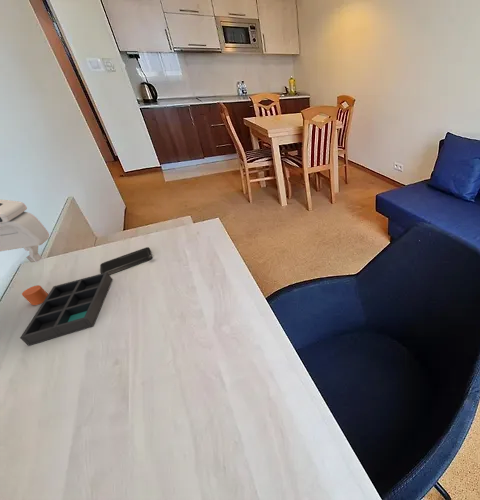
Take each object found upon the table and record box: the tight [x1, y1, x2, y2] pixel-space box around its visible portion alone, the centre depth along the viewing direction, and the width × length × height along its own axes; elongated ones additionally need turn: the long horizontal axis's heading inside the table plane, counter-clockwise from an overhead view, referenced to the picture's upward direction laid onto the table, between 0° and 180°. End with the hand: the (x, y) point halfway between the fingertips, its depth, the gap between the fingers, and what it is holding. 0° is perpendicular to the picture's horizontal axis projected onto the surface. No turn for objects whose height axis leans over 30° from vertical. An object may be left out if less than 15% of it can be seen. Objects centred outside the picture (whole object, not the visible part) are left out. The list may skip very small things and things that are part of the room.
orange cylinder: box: [21, 285, 49, 306], centre depth 90 cm, size 4×4×4 cm
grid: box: [19, 272, 114, 347], centre depth 85 cm, size 14×21×3 cm
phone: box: [99, 246, 153, 276], centre depth 103 cm, size 8×1×15 cm
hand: (15, 264), depth 74 cm, fingers open, 8 cm apart
